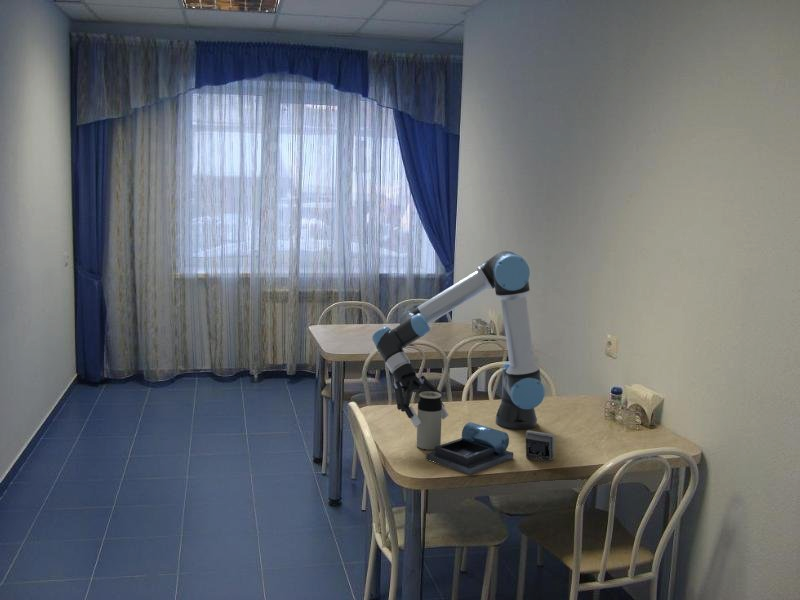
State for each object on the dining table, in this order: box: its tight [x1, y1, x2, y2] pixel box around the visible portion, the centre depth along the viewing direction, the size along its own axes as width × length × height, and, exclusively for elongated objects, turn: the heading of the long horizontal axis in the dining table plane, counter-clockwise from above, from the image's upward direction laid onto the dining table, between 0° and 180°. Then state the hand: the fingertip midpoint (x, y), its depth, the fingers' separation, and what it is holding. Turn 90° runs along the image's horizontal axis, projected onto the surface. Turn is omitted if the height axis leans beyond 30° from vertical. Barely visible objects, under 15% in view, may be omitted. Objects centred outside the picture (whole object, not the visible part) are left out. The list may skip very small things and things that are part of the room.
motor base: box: [425, 421, 514, 476], centre depth 254 cm, size 22×18×9 cm
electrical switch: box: [525, 429, 556, 463], centre depth 256 cm, size 9×5×9 cm, turn 65°
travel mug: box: [416, 391, 443, 451], centre depth 265 cm, size 8×8×18 cm
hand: (432, 421), depth 263 cm, fingers open, 13 cm apart
